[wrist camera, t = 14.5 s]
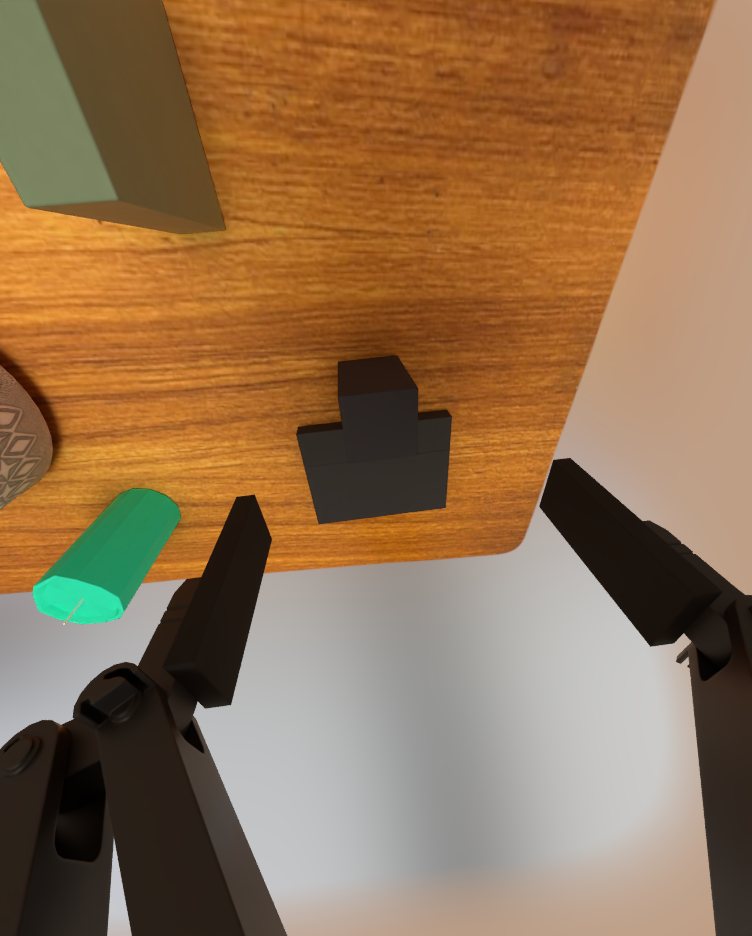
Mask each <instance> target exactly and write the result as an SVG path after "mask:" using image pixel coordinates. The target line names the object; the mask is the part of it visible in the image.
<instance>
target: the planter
mask: <svg viewBox="0 0 752 936" xmlns="http://www.w3.org/2000/svg"><path fill="white" fill-rule="evenodd" d="M52 454H53V447H52V438H51V435H50V432H49V429H48V426H47V423H46V421H45V419H44V418H43V416H42V414H41V412H40V410H39V408H38V407H37V405H36V404H35V403H34V401H33V400H32V398H31V397H30V396H29V394H28V393H27V392H26V391H25V389H24V388H23V387H22V386H21V385H20V384H19V383H18V382H17V381H16V380H15V378H14V377H13V376H12V375H11V374H10V373H8V372H7V371H6V370H5V369H4V368H3V367H2V366H1V365H0V509H2V508H3V507H4V506H6V505H7V504H8V503H10V502H11V501H12V500H14V499H15V498H17V497H18V496H19V495H21V494H22V493H23V492H25V491H26V490H27V489H29V488H30V487H31V486H33V485H34V484H35V483H37V482H38V481H40V480H41V478H42V477H43V476H44V475H45V474H46V472H47V471H48V468H49V466H50V464H51V461H52Z"/></svg>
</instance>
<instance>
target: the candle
mask: <svg viewBox="0 0 752 936" xmlns="http://www.w3.org/2000/svg"><path fill="white" fill-rule="evenodd" d="M180 519H181V515H180V512H179V508H178V506H177V505H176V504H175V503H174V502H173V501H172V500H171V499H170V498H168V497H167V496H166V495H163V494H161V493H158V492H156V491H153V490H151V489H130V490H128V491H126V492H123V493H121V494H119V495H118V496H117V497H116V499H115V500H114V501H113V502H112V503H111V504H110V505H109V506H108V507H107V508H106V509H105V510H104V511H103V512H102V514H101V515H100V516H99V517H98V518H97V519H96V520H95V521H94V522H93V523H92V524H91V525H90V526H89V528H88V529H87V530H86V531H85V532H84V533H83V534H82V535H81V536H80V537H79V538H78V539H77V540H76V541H75V543H74V544H73V545H72V546H71V547H70V548H69V549H68V550H67V551H66V552H65V553H64V554H63V555H62V556H61V558H60V559H59V560H58V561H57V562H56V563H55V564H54V565H53V566H52V567H51V568H50V569H49V570H48V571H47V573H46V574H45V575H44V576H43V577H42V578H41V579H40V580H39V581H38V582H37V583H36V584H35V585H34V587H33V597H34V600H35V603H36V605H37V608H38V610H39V612H42V613H44V614H47V615H49V616H52V617H54V618H56V619H59V620H63V621H65V622H64V623H63V625H65V624H66V623H67V621H69V622H74V623H79V624H90V623H102V622H108V621H112V620H116V619H119V618H121V616H122V614H123V613H124V611H125V609H126V608H127V606H128V604H129V603H130V601H131V599H132V598H133V596H134V595H135V593H136V591H137V590H138V588H139V586H140V585H141V583H142V581H143V580H144V578H145V576H146V575H147V573H148V571H149V570H150V568H151V567H152V565H153V563H154V562H155V560H156V558H157V557H158V555H159V553H160V552H161V550H162V548H163V547H164V545H165V543H166V542H167V540H168V539H169V537H170V535H171V534H172V532H173V530H174V529H175V527H176V525H177V524H178V522H179V520H180Z"/></svg>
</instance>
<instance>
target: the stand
mask: <svg viewBox="0 0 752 936" xmlns="http://www.w3.org/2000/svg"><path fill="white" fill-rule="evenodd" d="M0 162H1V163H2V165H3V167H4V169H5V171H6V173H7V174H8V176H9V178H10V180H11V182H12V183H13V185H14V187H15V189H16V191H17V192H18V194H19V196H20V198H21V200H22V202H23V203H24V205H25V206H26V207H28V208H32V209H38V210H44V211H49V212H55V213H61V214H67V215H73V216H78V217H84V218H90V219H96V220H101V221H107V222H113V223H119V224H125V225H130V226H136V227H142V228H148V229H154V230H159V231H165V232H171V233H177V234H188V233H200V232H211V231H223V230H225V225H224V221H223V218H222V214H221V210H220V207H219V203H218V200H217V196H216V193H215V189H214V185H213V182H212V178H211V175H210V171H209V167H208V164H207V160H206V157H205V153H204V149H203V146H202V142H201V139H200V135H199V132H198V128H197V124H196V121H195V117H194V114H193V110H192V106H191V103H190V99H189V96H188V92H187V88H186V85H185V81H184V78H183V74H182V70H181V67H180V63H179V60H178V56H177V53H176V49H175V45H174V42H173V38H172V35H171V31H170V27H169V24H168V20H167V17H166V13H165V9H164V6H163V2H162V0H0Z"/></svg>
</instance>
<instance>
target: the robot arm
mask: <svg viewBox="0 0 752 936" xmlns="http://www.w3.org/2000/svg"><path fill="white" fill-rule="evenodd" d="M540 508H541V509H542V511H543V512H544V513H545V514H546V516H547V517H548V518H549V519H550V521H551V522H552V523H553V525H554V526H555V527H556V528H557V529H558V531H559V532H560V533H561V535H562V536H563V537H564V538H565V540H566V541H567V542H568V543H569V545H570V546H571V547H572V548H573V549H574V551H575V552H576V553H577V555H578V556H579V557H580V558H581V560H582V561H583V562H584V564H585V565H586V566H587V567H588V568H589V570H590V571H591V572H592V574H593V575H594V576H595V577H596V579H597V580H598V581H599V582H600V583H601V585H602V586H603V587H604V589H605V590H606V591H607V592H608V594H609V595H610V596H611V597H612V599H613V600H614V601H615V602H616V604H617V605H618V606H619V608H620V609H621V610H622V611H623V613H624V614H625V615H626V616H627V617H628V619H629V620H630V621H631V622H632V624H633V625H634V626H635V628H636V629H637V630H638V631H639V633H640V634H641V635H642V636H643V638H644V639H645V640H646V641H647V643H648V644H649V645H650V646H658V645H665V644H672V643H675V642H676V641H677V639H678V638H679V637H680V636H681V635H682V634H683V633H684V634H685V635H686V636H687V637H688V638H689V639H690V640H691V641H692V642H691V643H690V644H689V645H688V646H687V647H686V648H685V649H684V650H683V651H682V652H681V653H680V654H679V655H678V656H677V660H676V662H678V663H682V662H683V661H684V660H685V659H686V658H687V657H688V656H689V665H688V667H689V668H690V676H691V686H692V696H693V706H694V716H695V727H696V737H697V747H698V757H699V767H700V778H701V788H702V798H703V807H704V818H705V829H706V839H707V849H708V858H709V869H710V879H711V889H712V900H713V910H714V920H715V930H716V936H752V595H745V594H743V593H742V592H741V591H739V590H738V589H737V588H736V587H734V586H733V585H732V584H731V583H730V582H728V581H727V580H726V579H725V578H724V577H722V576H721V575H720V574H718V572H716V571H715V570H714V569H713V568H712V567H710V566H709V565H708V564H707V563H706V562H704V561H703V560H702V559H701V558H700V557H699V556H697V555H696V554H693V553H692V552H693V551H691V550H690V549H689V548H688V547H686V546H685V545H684V544H681V542H680V541H679V540H678V539H677V538H676V537H675V536H673V535H672V534H671V533H670V532H669V531H667V530H666V529H664V528H662V527H660V526H659V525H657V524H655V523H653V522H651V521H642V520H640V519H639V518H638V517H637V516H636V515H635V514H634V513H632V512H631V511H630V510H629V509H628V508H627V507H626V506H624V505H623V504H622V503H621V502H620V501H619V500H618V499H616V498H615V497H614V496H613V495H612V494H611V493H610V492H608V491H607V490H606V489H605V488H604V487H603V486H602V485H600V484H599V483H598V482H597V481H596V480H595V479H593V478H592V477H591V476H590V475H589V474H588V473H587V472H586V471H584V470H583V469H582V468H581V467H580V466H579V465H577V464H576V463H575V462H574V461H573V460H572V459H571V458H567V459H558V460H553V463H552V466H551V470H550V473H549V476H548V479H547V483H546V486H545V489H544V493H543V496H542V499H541V503H540ZM271 541H272V538H271V536H270V533H269V530H268V528H267V525H266V523H265V520H264V518H263V515H262V512H261V510H260V507H259V505H258V502H257V500H256V497H255V495H249V496H241V497H236V499H235V502H234V504H233V506H232V509H231V511H230V513H229V515H228V518H227V520H226V522H225V525H224V527H223V529H222V531H221V534H220V536H219V538H218V541H217V543H216V545H215V547H214V550H213V552H212V554H211V557H210V559H209V561H208V563H207V566H206V568H205V570H204V572H203V575H202V577H199V578H191V579H186V581H185V582H184V583H183V584H182V585H181V586H180V587H179V588H178V589H177V591H176V592H175V593H174V595H173V597H172V599H171V601H170V603H169V605H168V607H167V611H165V613H164V615H163V617H162V619H161V623H160V624H159V625H158V627H157V629H156V631H155V633H154V635H153V637H152V639H151V641H150V643H149V645H148V647H147V649H146V651H145V653H144V655H143V657H142V659H141V661H140V663H139V665H138V666H136V665H135V664H133V663H128V662H124V663H120V664H116V665H113V666H112V667H110V668H108V669H106V670H104V671H103V672H101V673H100V674H99V675H98V676H97V677H96V678H94V679H93V680H92V681H91V682H90V683H89V684H88V685H87V686H86V688H85V689H84V690H83V691H82V693H81V694H80V696H79V698H78V700H77V702H76V704H75V706H74V712H73V718H74V719H73V720H71V721H69V722H66V723H64V724H62V725H60V724H58V723H56V722H54V721H52V720H42V721H39V722H36V723H34V724H31V725H29V726H28V727H26V728H25V729H23V730H22V731H20V732H19V733H17V734H16V735H14V736H13V737H12V738H11V739H10V740H9V741H8V742H7V743H6V744H5V745H4V746H3V747H2V748H1V749H0V936H107V929H108V915H109V900H110V885H111V870H112V856H113V839H115V845H116V850H117V856H118V861H119V867H120V872H121V877H122V883H123V889H124V895H125V900H126V906H127V911H128V916H129V921H130V927H131V933H132V936H287V934H286V932H285V929H284V927H283V924H282V922H281V920H280V918H279V915H278V913H277V910H276V908H275V905H274V903H273V901H272V898H271V896H270V894H269V891H268V889H267V887H266V884H265V882H264V879H263V877H262V875H261V872H260V870H259V868H258V865H257V863H256V860H255V858H254V856H253V853H252V851H251V848H250V846H249V844H248V841H247V839H246V837H245V834H244V832H243V829H242V827H241V825H240V823H239V820H238V818H237V815H236V813H235V810H234V808H233V806H232V804H231V801H230V799H229V796H228V794H227V792H226V789H225V787H224V784H223V782H222V780H221V777H220V775H219V773H218V770H217V768H216V766H215V763H214V761H213V758H212V756H211V753H210V751H209V749H208V746H207V744H206V742H205V739H204V737H203V735H202V732H201V730H200V728H199V725H198V723H197V720H196V719H195V717H194V716H193V714H194V711H195V708H196V705H197V702H199V703H200V704H201V705H202V706H203V707H204V708H212V707H219V706H226V705H231V702H232V699H233V695H234V690H235V687H236V682H237V678H238V674H239V670H240V666H241V662H242V658H243V654H244V650H245V646H246V642H247V638H248V634H249V630H250V626H251V622H252V618H253V614H254V610H255V606H256V602H257V598H258V593H259V589H260V585H261V581H262V577H263V573H264V569H265V565H266V561H267V557H268V553H269V549H270V545H271Z"/></svg>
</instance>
